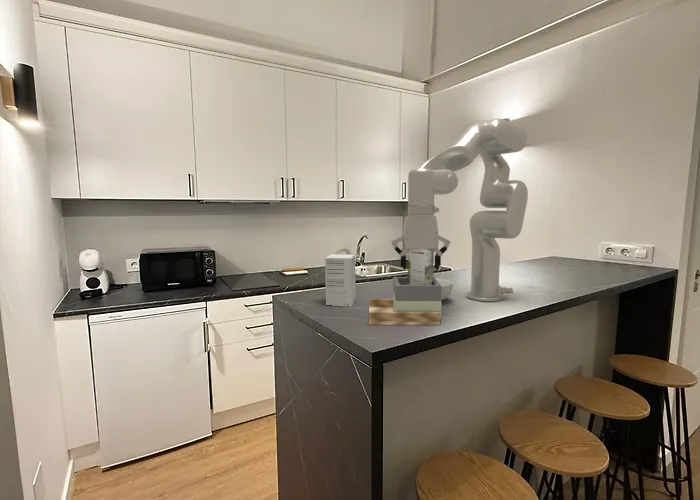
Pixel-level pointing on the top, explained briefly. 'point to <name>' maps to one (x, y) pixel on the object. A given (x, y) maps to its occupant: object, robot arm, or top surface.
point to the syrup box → (420, 267)
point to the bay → (398, 315)
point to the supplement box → (340, 279)
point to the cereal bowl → (445, 287)
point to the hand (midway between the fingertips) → (420, 268)
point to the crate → (416, 296)
